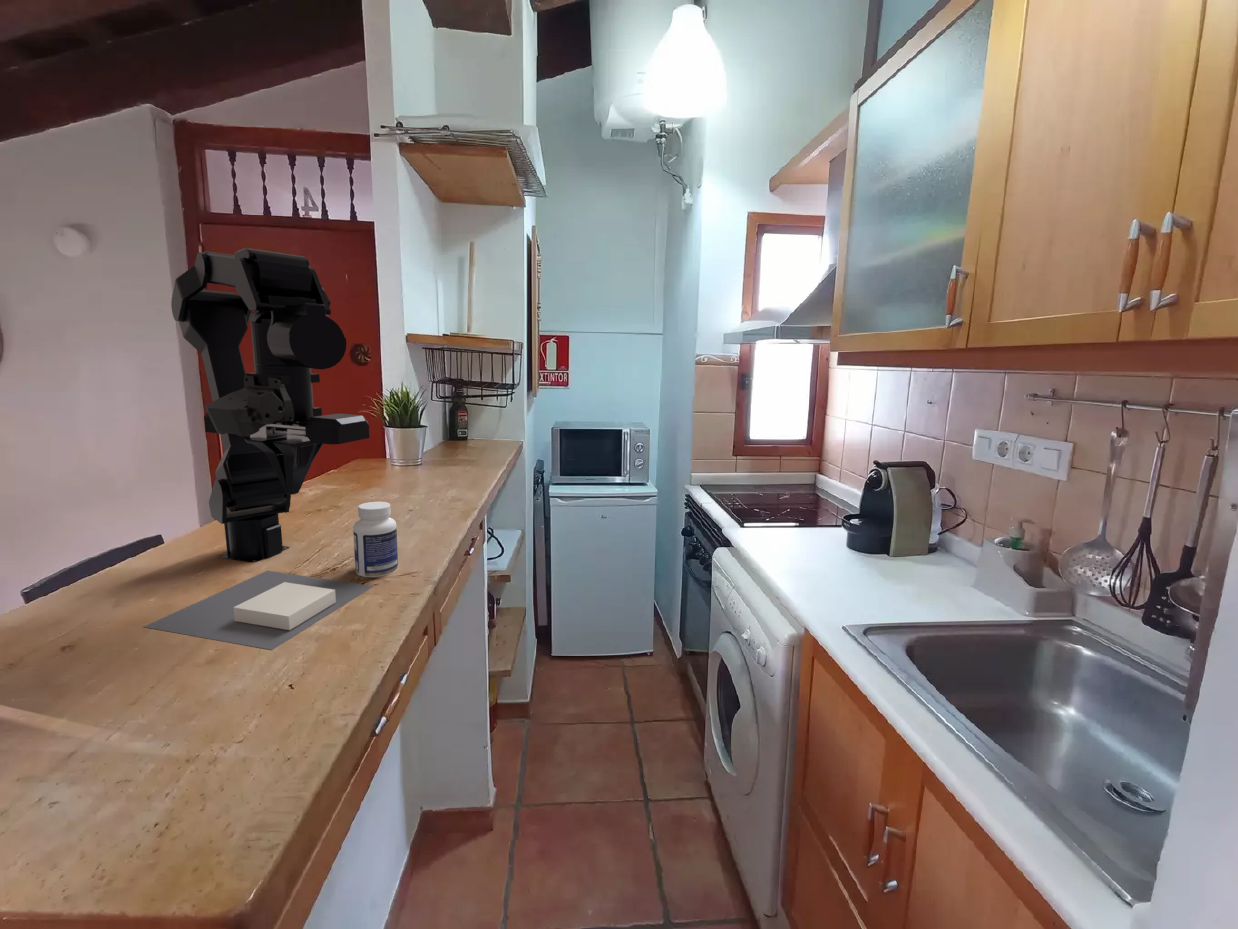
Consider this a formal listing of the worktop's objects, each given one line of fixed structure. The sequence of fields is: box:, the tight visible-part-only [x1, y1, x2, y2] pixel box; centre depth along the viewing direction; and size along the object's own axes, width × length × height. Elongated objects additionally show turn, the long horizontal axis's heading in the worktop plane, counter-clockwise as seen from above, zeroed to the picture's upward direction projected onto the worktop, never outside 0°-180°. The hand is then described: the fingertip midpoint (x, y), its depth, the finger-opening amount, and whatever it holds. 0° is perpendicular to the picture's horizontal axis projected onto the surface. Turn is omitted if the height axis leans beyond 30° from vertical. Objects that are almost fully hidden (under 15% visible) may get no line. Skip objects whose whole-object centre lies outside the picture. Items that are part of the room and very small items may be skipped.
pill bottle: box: [352, 501, 399, 578], centre depth 75 cm, size 5×5×10 cm
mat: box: [143, 570, 374, 651], centre depth 65 cm, size 16×16×1 cm
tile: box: [233, 582, 336, 630], centre depth 63 cm, size 2×7×7 cm
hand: (292, 493), depth 68 cm, fingers closed
